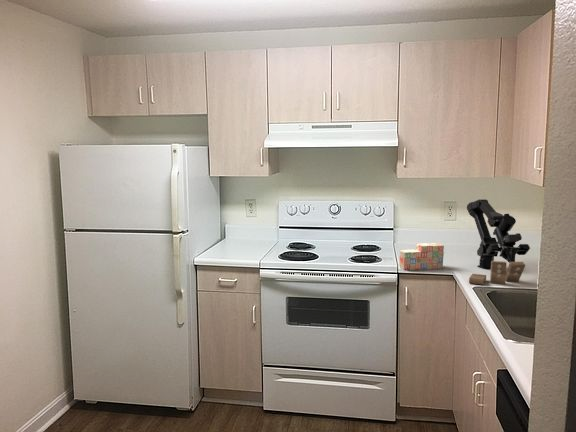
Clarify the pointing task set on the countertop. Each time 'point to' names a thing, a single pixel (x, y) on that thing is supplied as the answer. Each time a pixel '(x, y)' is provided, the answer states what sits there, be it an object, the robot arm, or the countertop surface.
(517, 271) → the tile two
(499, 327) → the countertop surface
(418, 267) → the stack of blocks
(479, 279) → the wooden block
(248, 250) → the countertop surface
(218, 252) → the countertop surface
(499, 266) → the light brown wooden block
